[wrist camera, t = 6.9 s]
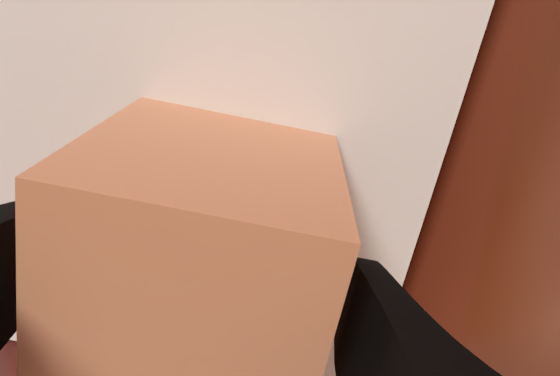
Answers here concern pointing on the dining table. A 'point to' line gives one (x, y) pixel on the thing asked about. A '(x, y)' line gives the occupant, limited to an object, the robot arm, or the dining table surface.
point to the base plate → (255, 85)
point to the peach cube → (183, 248)
